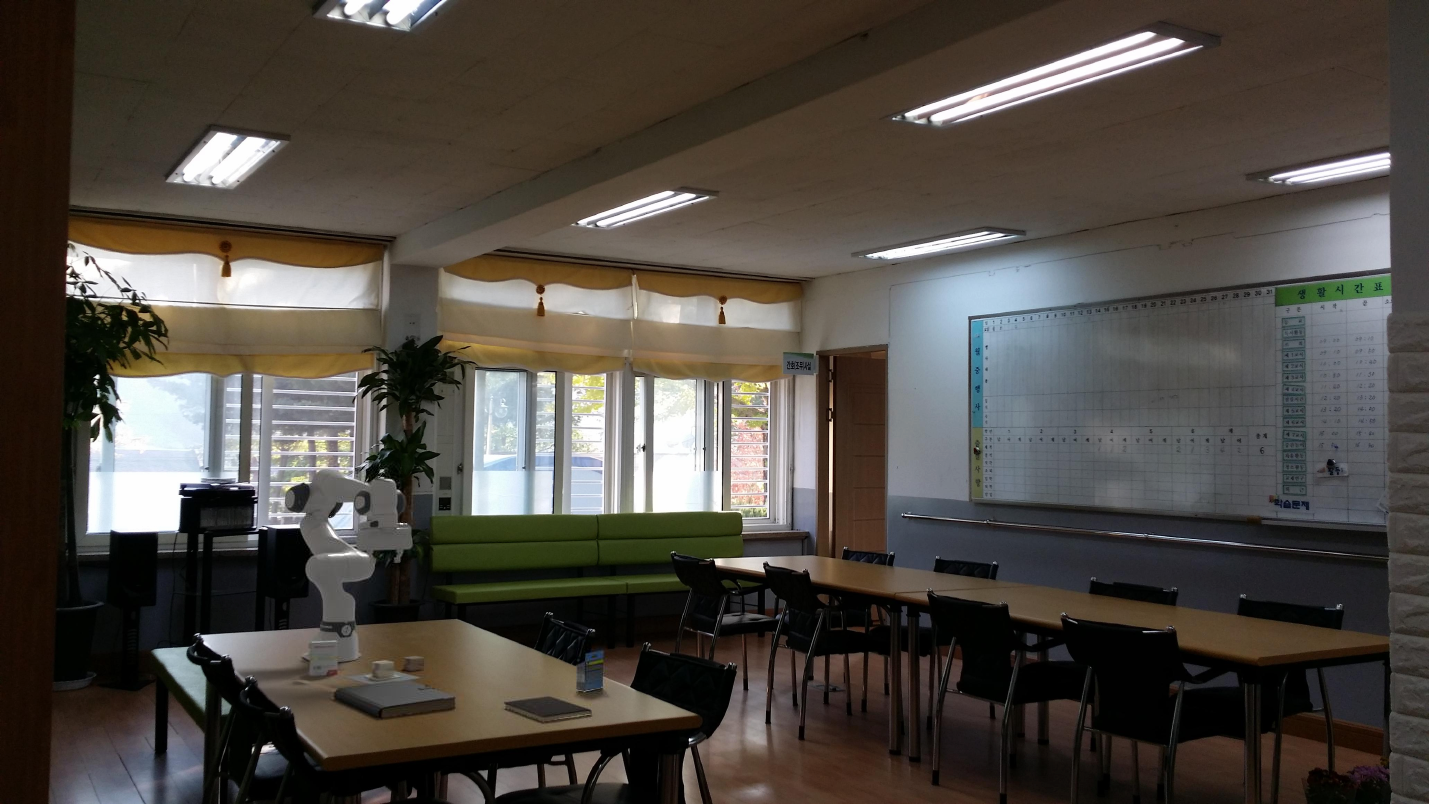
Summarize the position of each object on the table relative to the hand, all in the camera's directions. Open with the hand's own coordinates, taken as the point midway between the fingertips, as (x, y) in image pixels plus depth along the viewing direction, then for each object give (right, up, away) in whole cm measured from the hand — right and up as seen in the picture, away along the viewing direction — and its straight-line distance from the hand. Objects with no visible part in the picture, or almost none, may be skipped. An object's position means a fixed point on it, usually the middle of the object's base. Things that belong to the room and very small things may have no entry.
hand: (385, 563), depth 380 cm
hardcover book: (+67, -34, -65) cm, 100 cm away
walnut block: (+12, -37, -6) cm, 39 cm away
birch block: (+6, -35, -22) cm, 41 cm away
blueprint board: (+6, -36, -22) cm, 42 cm away
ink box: (-16, -36, -17) cm, 43 cm away
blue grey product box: (+76, -36, -32) cm, 90 cm away
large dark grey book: (+20, -34, -57) cm, 69 cm away
